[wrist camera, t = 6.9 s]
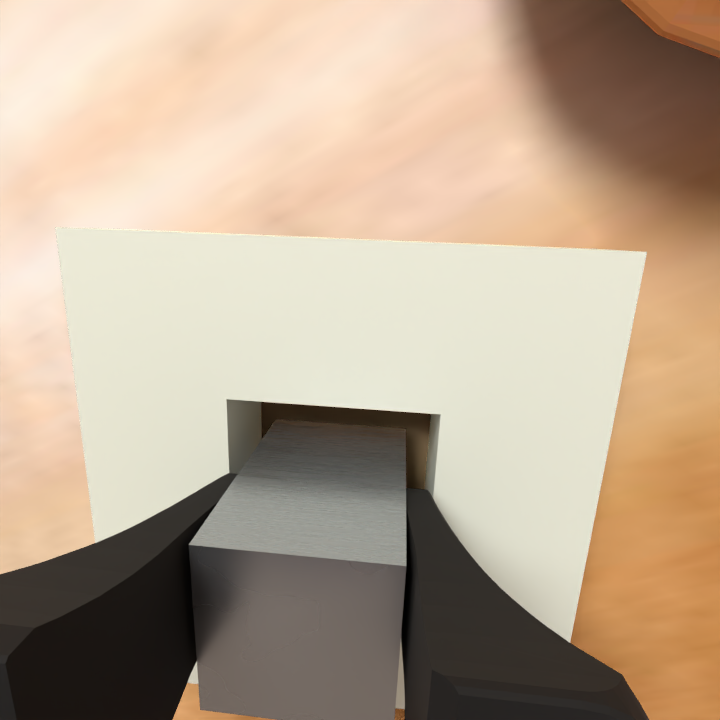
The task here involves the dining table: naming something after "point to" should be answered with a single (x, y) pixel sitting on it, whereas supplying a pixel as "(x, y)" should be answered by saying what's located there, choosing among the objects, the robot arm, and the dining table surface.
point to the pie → (683, 21)
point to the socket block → (359, 375)
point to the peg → (305, 577)
